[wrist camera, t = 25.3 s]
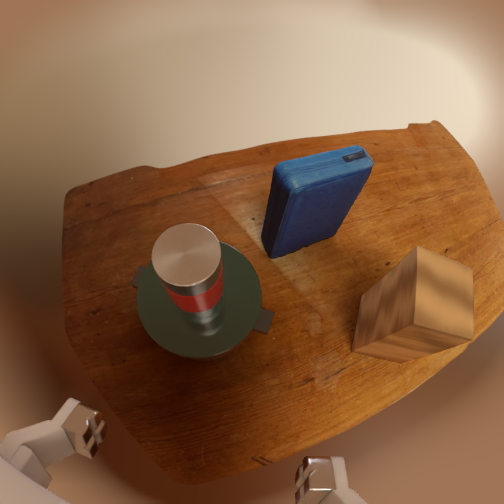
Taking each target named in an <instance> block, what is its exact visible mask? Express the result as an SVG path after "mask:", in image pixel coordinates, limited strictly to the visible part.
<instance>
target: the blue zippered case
mask: <svg viewBox="0 0 504 504" xmlns="http://www.w3.org/2000/svg"><path fill="white" fill-rule="evenodd" d="M373 165H374V162H373V160H372V158H371V157H370V156H369V155H368V153H367V152H366V151H365V150H364V149H363V148H362V147H361V146H359V145H354V146H350V147H346V148H342V149H338V150H333V151H328V152H324V153H319V154H315V155H310V156H306V157H302V158H297V159H293V160H287V161H283V162H280V163H278V164H277V165H276V166H275V167H274V170H273V177H272V183H271V190H270V195H269V199H268V204H267V210H266V215H265V220H264V225H263V229H262V234H261V238H262V243H263V245H264V247H265V250H266V251H267V253H268V255H269V257H270V258H271V259H274V258H277V257H282V256H285V255H287V254H288V253H293V252H295V251H297V250H300V249H301V248H302V247H308V246H309V245H311V244H313V243H316V242H319V241H321V240H324V239H328V238H330V237H332V236H334V235H335V234H336V232H337V230H338V228H339V227H340V225H341V224H342V222H343V220H344V219H345V217H346V215H347V213H348V212H349V210H350V208H351V206H352V205H353V203H354V201H355V200H356V198H357V196H358V195H359V193H360V192H361V190H362V188H363V186H364V184H365V183H366V181H367V179H368V177H369V175H370V173H371V170H372V167H373Z"/></svg>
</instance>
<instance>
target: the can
mask: <svg viewBox="0 0 504 504" xmlns="http://www.w3.org/2000/svg"><path fill="white" fill-rule="evenodd" d="M152 264H153V267H154V269H155V271H156V273H157V275H158V277H159V279H160V281H161V283H162V285H163V286H164V288H165V290H166V291H167V293H168V295H169V296H170V298H171V300H172V301H173V303H174V304H175V306H176V307H177V309H178V310H179V311H180V312H181V313H183V314H184V315H186V316H188V317H191V318H204V317H207V316H210V315H212V314H213V313H214V312H216V311H217V310H218V308H219V307H220V305H221V303H222V301H223V296H224V289H223V288H224V283H223V266H222V258H221V247H220V243H219V241H218V239H217V238H216V236H215V235H214V234H213V233H212V232H211V231H210V230H209V229H207V228H206V227H204V226H201V225H198V224H193V223H185V224H179V225H176V226H173V227H171V228H169V229H168V230H166V231H165V232H163V233H162V234H161V235H160V237H159V238H158V239H157V241H156V242H155V244H154V247H153V250H152Z"/></svg>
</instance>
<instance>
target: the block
mask: <svg viewBox="0 0 504 504" xmlns="http://www.w3.org/2000/svg"><path fill="white" fill-rule="evenodd" d="M473 329H474V297H473V276H472V268H470V267H468V266H466V265H463V264H461V263H459V262H456V261H454V260H452V259H449V258H447V257H444V256H442V255H440V254H437V253H435V252H432V251H430V250H427V249H425V248H422V247H420V246H416V247H415V248H414V249H413V250H412V251H411V252H410V253H409V254H408V255H407V256H406V257H405V258H404V259H402V260H401V261H400V262H399V263H398V264H397V265H396V266H395V267H394V268H393V269H392V270H391V271H389V272H388V273H387V274H386V275H385V276H384V277H383V278H382V279H380V280H379V281H378V282H377V283H376V284H375V285H374V286H372V287H371V288H370V289H369V290H368V291H367V292H365V293H364V294H363V295H362V296H361V302H360V308H359V314H358V319H357V325H356V330H355V335H354V340H353V345H352V350H351V352H355V353H359V354H363V355H367V356H371V357H376V358H380V359H384V360H389V361H393V362H398V363H403V362H407V361H411V360H414V359H417V358H421V357H424V356H427V355H431V354H434V353H437V352H440V351H443V350H446V349H449V348H452V347H455V346H458V345H460V344H463V343H466V342H468V341H471V340H473Z"/></svg>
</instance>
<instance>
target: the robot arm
mask: <svg viewBox="0 0 504 504" xmlns="http://www.w3.org/2000/svg"><path fill="white" fill-rule="evenodd" d="M103 417H104V416H103V413H102V411H99V410H97V409H94V408H92V407H90V406H88V405H85V404H83V403H81V402H79V401H77V400H75V399H73V398H70V399H68V400H67V401H66V402H65V404H64V405H63V406H62V408H61V409H60V410H59V412H58V413H57V414H56V415H55V417H54V418H53V419H52V420H51V421H50V420H47V421H44V422H41V423H38V424H35V425H31V426H28V427H25V428H22V429H19V430H16V431H12V432H9V433H8V434H7V435H6V436H5V438H4V439H3V440H2V441H1V443H0V504H71V503H69V502H68V501H66V500H64V499H62V498H60V497H59V496H57V495H55V494H54V493H52V492H50V491H49V490H47V487H48V485H49V483H50V482H51V480H52V478H51V476H50V474H49V473H48V472H47V471H46V469H45V468H47V467H49V466H51V465H53V464H55V463H57V462H59V461H61V460H63V459H65V458H67V457H68V456H70V455H72V454H74V453H75V452H78V453H80V454H82V455H84V456H86V457H88V458H90V459H93V457H94V456H95V454H96V452H97V450H98V445H97V444H98V443H100V442H102V441H103V440H104V437H105V435H106V431H107V426H106V423H105V422H104V421H103V419H102V418H103ZM295 485H296V486H297V487H298V488H299V489H298V490H297V492H296V493H295V498H296V504H368V503H367V502H365V500H363V498H361V497H360V496H359V495H358V494H357V493H356V492H355V491H354V490H353V489H349V485H348V479H347V474H346V467H345V462H344V458H343V457H311V456H306V457H304V459H303V464H302V465H300V466H299V467H298V469H297V472H296V477H295Z"/></svg>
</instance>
